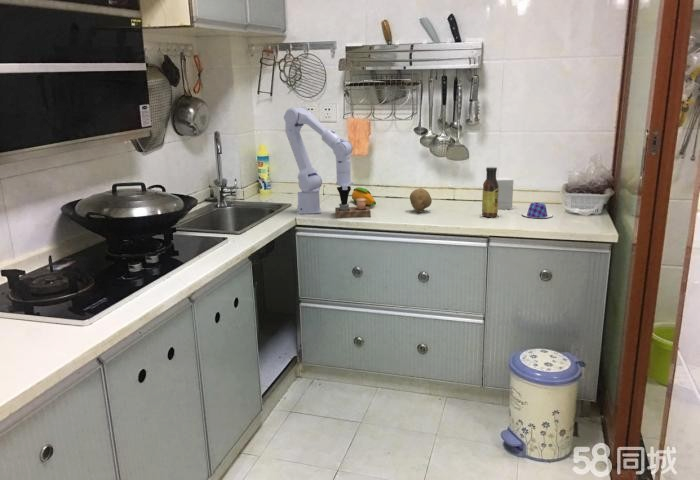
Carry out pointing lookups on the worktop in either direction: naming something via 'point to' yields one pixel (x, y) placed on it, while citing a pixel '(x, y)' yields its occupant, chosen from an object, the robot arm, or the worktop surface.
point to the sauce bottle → (490, 194)
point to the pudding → (537, 211)
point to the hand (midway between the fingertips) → (344, 204)
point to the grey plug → (344, 207)
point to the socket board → (352, 213)
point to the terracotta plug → (361, 203)
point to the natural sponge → (420, 199)
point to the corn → (363, 196)
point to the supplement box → (505, 192)
